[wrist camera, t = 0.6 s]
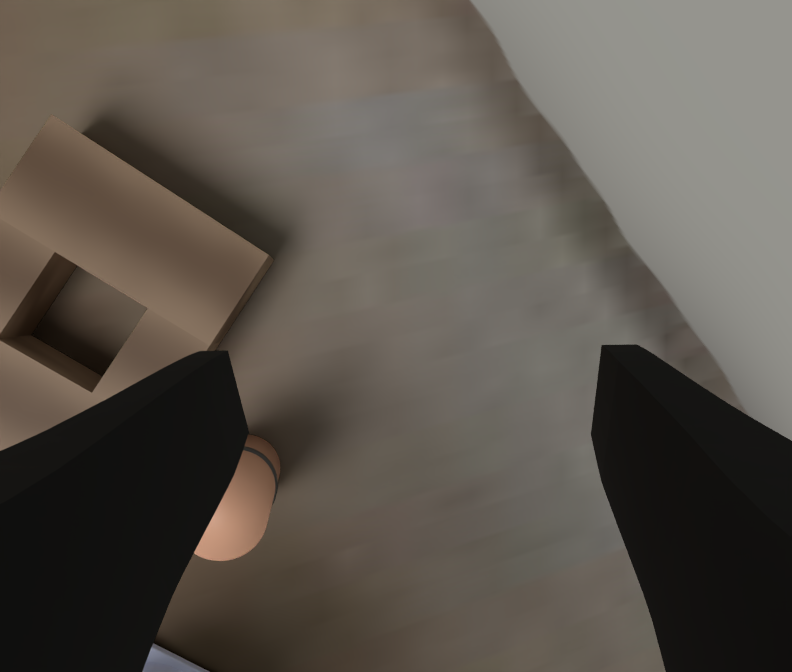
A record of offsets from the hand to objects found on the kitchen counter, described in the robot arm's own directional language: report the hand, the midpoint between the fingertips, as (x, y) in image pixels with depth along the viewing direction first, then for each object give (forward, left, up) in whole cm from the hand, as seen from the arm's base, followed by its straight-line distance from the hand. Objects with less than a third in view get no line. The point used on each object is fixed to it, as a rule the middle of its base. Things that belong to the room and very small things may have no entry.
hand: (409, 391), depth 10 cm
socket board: (-7, +12, -21) cm, 25 cm away
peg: (-10, +1, -21) cm, 23 cm away
